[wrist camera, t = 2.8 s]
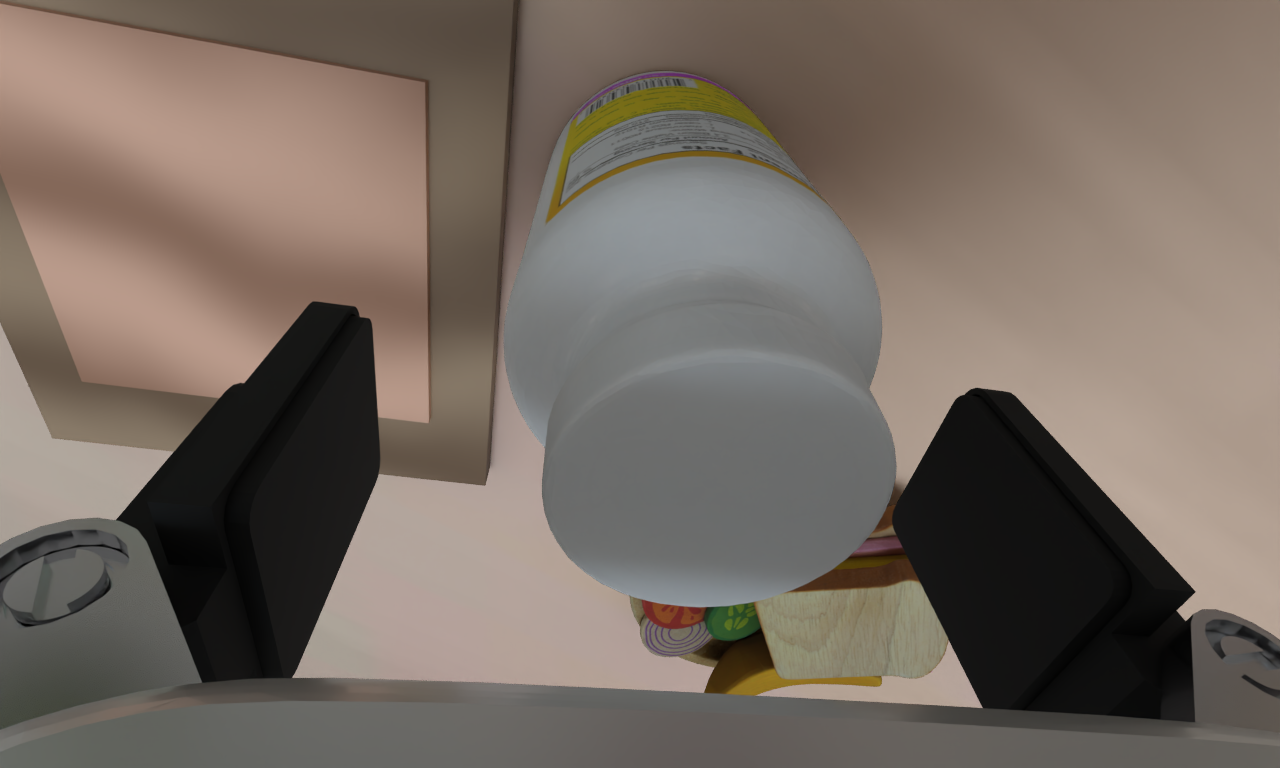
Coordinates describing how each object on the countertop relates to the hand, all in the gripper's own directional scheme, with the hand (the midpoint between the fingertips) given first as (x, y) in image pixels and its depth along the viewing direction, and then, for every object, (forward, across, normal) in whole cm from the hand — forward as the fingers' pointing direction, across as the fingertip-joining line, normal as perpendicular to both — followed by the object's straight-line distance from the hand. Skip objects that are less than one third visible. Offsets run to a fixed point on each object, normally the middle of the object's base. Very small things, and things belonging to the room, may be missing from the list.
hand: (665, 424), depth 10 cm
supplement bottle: (+11, -1, -1) cm, 11 cm away
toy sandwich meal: (+11, -9, +16) cm, 21 cm away
